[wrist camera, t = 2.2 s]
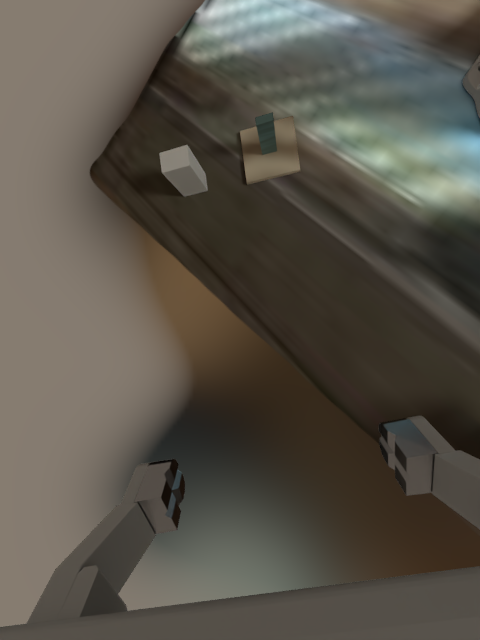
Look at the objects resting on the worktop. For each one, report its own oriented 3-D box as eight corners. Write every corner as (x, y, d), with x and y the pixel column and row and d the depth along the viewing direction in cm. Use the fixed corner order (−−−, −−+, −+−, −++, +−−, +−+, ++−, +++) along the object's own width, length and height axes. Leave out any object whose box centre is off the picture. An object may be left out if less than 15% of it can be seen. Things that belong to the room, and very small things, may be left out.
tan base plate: (300, 171, 43) (301, 141, 35) (247, 184, 45) (237, 158, 37) (292, 118, 43) (292, 77, 35) (240, 133, 45) (229, 97, 37)
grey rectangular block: (207, 190, 46) (189, 165, 38) (184, 196, 47) (161, 173, 39) (205, 173, 46) (187, 144, 38) (181, 179, 47) (159, 153, 39)
